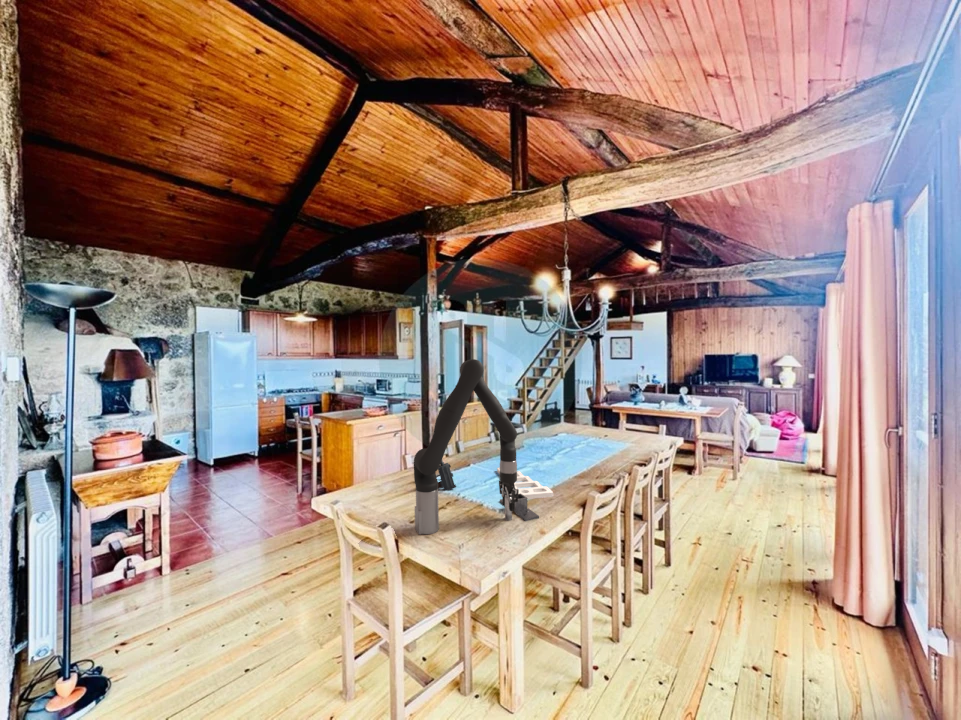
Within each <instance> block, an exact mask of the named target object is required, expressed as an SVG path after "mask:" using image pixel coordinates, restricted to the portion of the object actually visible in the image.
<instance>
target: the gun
mask: <svg viewBox="0 0 961 720" xmlns="http://www.w3.org/2000/svg"><path fill="white" fill-rule="evenodd" d="M451 468H452V466H451V464H450V463H449V462H446V463H445V462H444V460H442V461H441V464H440V466H439V468H438V470H437V471H438V475H436V478H437V481H438V490H440V489H443V490H445V492H446V491H447V492H448V491H450V490H452V489H456V488H457V485H456V483H455V482H454V478H453V477H454V473H453V472H451ZM438 477H440V479H438Z"/></svg>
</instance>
